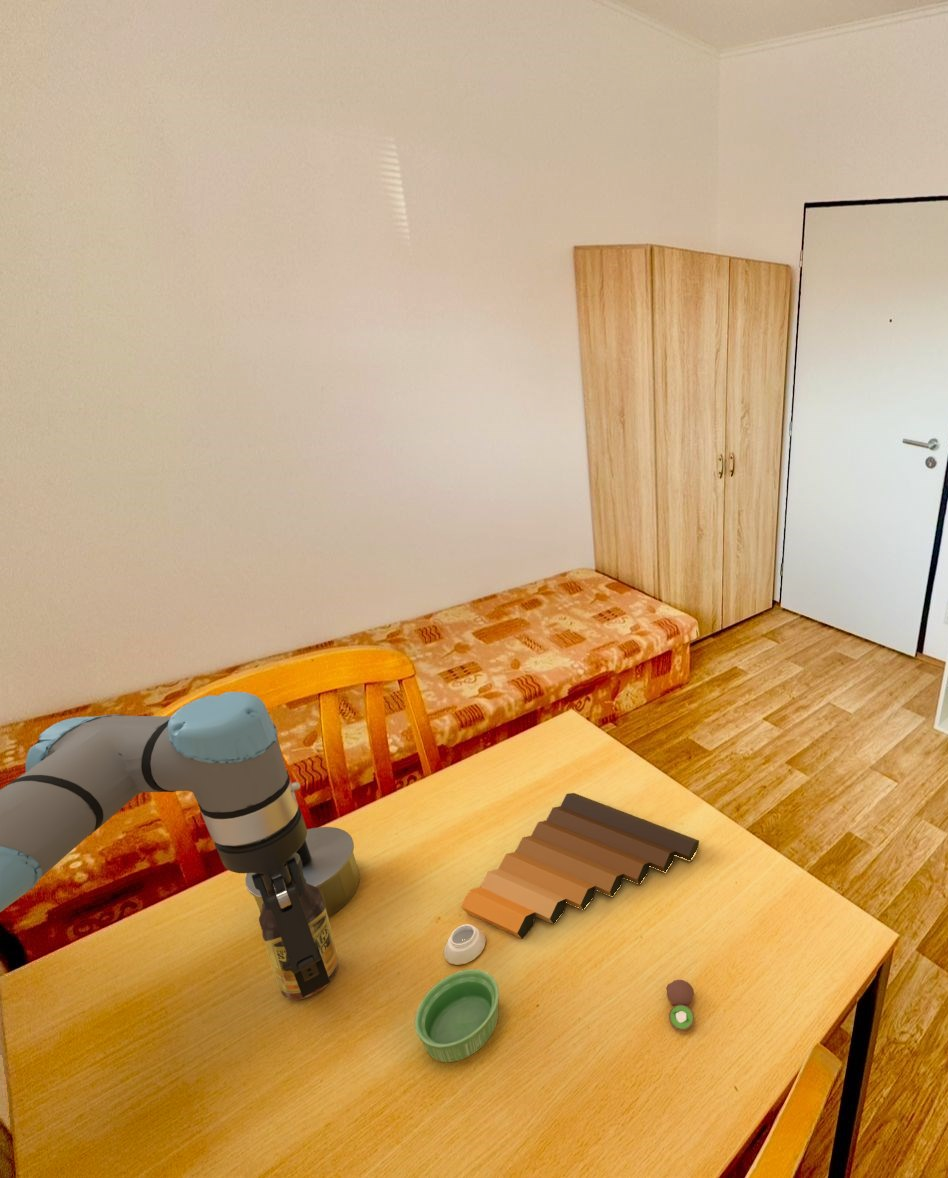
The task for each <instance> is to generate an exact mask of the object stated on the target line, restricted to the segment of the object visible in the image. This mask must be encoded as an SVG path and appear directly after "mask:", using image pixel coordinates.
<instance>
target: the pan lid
mask: <svg viewBox="0 0 948 1178" xmlns="http://www.w3.org/2000/svg"><path fill="white" fill-rule="evenodd" d="M354 850H355V843H354V839H353V837H352V836H351V835H350V833H349V832H347V831H346V830H344V829H342V828H339V827H334V826H319V827H311V828H307V836H306V839H305V841H304V843H303V845H302V846H301V847H300V848H299V849H298V851H297V852H296V853H298V854H299V855H300V858H301V861H302V872H303V876H304V878H305V880H306V883H307V884H310V885H313V886H315V887H317V888H319V887H320V886H322V885H324V884H325V883H327V882H328V881H330V880H331V879H333V878H334V877H335V876H336V875H337V874H338V873H339V872H341V871H342V870H343V868H344V867H345V866H346V865H347V863H348V862H349V860H350V859H351V857H352V854H353V853H354ZM245 874H246V875H245V878H244V879H245V880H244V882H245V887H246V889H247V892H248V893H249V894H250V895H252V896H253V897H254V896H255V897H257V898H259V899H262V896H261V893H260V891H259V890H258V889H256V888H255V885H254V882H253V879H252V876H251V875H254V874H256V873H245ZM255 897H254V898H255Z"/></svg>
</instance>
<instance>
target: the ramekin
mask: <svg viewBox="0 0 948 1178" xmlns="http://www.w3.org/2000/svg"><path fill="white" fill-rule="evenodd" d="M499 1001H500V989H499V984H498V983H497V981H496V979H495V978H494V976H493V975H491V973H490V972H487V971H485V970H482V969H477V968H475V969H474V968H472V969H471V968H470V969H463V970H459V971H456V972H453V973H451V974H449V975H447V976H445V977H444V978H443V979H440V980H439V981H438V982H437V983H436V984H435V985H433V986H432V988H430V989H429V990H428V992H427V993H425V995H424V997H423V998H422V999H421V1001H420V1003H419V1004H418V1007H417V1010H416V1013H415V1017H414V1029H415V1032H416V1035H417V1036H418V1039H419V1040H420V1041H421V1042H422V1043H423V1046H424V1048H425V1049H426V1052H427V1054H428V1055H429V1056H430V1057H432V1058H433V1059H434V1060H436V1061H437V1062H442V1063H453V1062H458V1061H461V1060H464V1059H467V1058H469V1057H471V1056H472V1055H474V1054H475V1053H476V1052H478V1051H479V1050H480V1049H481V1048H482V1047H483V1046H484V1045H485V1044H486V1043H487V1042H488V1041H489V1039H490V1038H491V1036H492V1035H493V1033H494V1031H495V1029H496V1027H497V1023H498V1019H499Z"/></svg>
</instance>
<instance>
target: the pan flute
mask: <svg viewBox="0 0 948 1178" xmlns="http://www.w3.org/2000/svg"><path fill="white" fill-rule="evenodd" d="M699 844H700V840H698V839H697V838H693V837H691V836H688V835H686V834H683V833H682V832H681V833H680V832H678V831H675V830H672V829H670V828H667V827H665V826H663V825H659V824H657V823H654V822H652V821H649V820H646V819H644V818H642V817H638V816H635V815H633V814H630V813H628V812H625V811H623V810H620V809H618V808H615V807H612V806H610V805H607V804H604V803H601V802H599V801H596V800H593V799H591V798H588V797H586V796H583V795H581V794H578V793H575V792H570V793H566V794H565V796H564V797H563V800H562V802H561V804H560V806H554V807H552V808H551V810H550V812H549V814H548V816H547V818H546V820H542V821H538V822H537V823H536V826H535V827H534V829H533V831H532V833H531V835H528V836H524V837H522V838H521V839H520V842H519V844H518V845H517V848H516V849H515V851H513V852H512V851H511V852H508V853H506V854H505V855H504V857H503V858H502V861H501V863H500V864H499V866H498V868H496V869H495V868H494V869H493V870H488V871H487V873H486V875H485V877H484V879H483V881H482V882H481V884H480V886H478V887H476V888H472V889H469V890H468V892H467V894H466V896H465V897H464V900H463V902H462V903H461V905H460V908H462V910H463V911H464V912H465V913H466V912H467V913H466V914H468V915H470V914H471V915H470V916H472V915H473V916H472V917H475V918H476V919H479V920H481V921H483V922H485V923H487V924H489V925H491V924H492V926H494V927H496V928H498V929H500V930H502V931H504V932H506V933H508V932H509V933H508V934H510V935H512V934H513V936H514V937H517V938H519V939H522V940H523V939H524V938H525V936H527V934H528V933H529V932H530V931H531V929H533V927H534V923H535V917H536V916H537V917H536V918H538V917H539V918H538V919H540V920H543V921H545V922H547V921H548V922H547V923H549V922H550V924H551V923H552V925H555V924H556V923H557V922H556V920H557V919H558V918H559V916H560V915H561V914H562V913H563V911H564V912H565V909H566V905H567V903H569V904H568V905H570V904H571V905H570V906H572V905H573V906H572V907H574V906H576V907H579V908H581V909H583V910H584V908H585V907H586V905H587V904H588V903H589V902H590V901H591V899H592V898H593V897H594V898H595V892H596V891H595V890H598V891H600V892H602V893H605V894H607V895H610V896H613V895H614V893H615V892H616V891H617V889H618V888H619V887H620V885H621V884H622V885H623V880H625V879H628V880H631V881H633V882H635V883H638V884H640V883H641V881H642V880H643V878H644V877H645V876H646V874H647V873H648V874H649V869H650V867H649V866H651V867H654V868H656V869H659V870H661V871H664V872H666V870H667V869H668V867H669V866H670V864H671V863H672V861H673V862H674V860H675V856H674V855H677V856H679V857H683V858H685V859H687V860H691V858H692V857H693V855H694V853H695V852H696V850H697V848H698V849H699ZM697 851H698V850H697ZM646 877H647V876H646ZM623 878H625V879H623ZM628 880H627V881H628ZM633 882H632V883H633ZM635 883H634V884H635ZM641 884H642V883H641ZM622 885H621V886H622ZM598 891H597V892H598ZM600 892H599V893H600ZM602 893H601V894H602ZM605 894H604V895H605ZM607 895H606V896H607ZM594 898H593V899H594ZM566 902H567V903H566ZM576 907H575V908H576ZM579 908H578V909H579ZM581 909H580V910H581ZM583 910H582V911H583ZM563 914H564V913H563ZM563 914H562V915H563ZM562 915H561V916H562ZM559 919H560V918H559ZM559 919H558V920H559ZM558 920H557V921H558ZM555 922H556V923H555ZM554 923H555V924H554ZM528 931H529V932H528Z"/></svg>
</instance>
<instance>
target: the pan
mask: <svg viewBox="0 0 948 1178" xmlns="http://www.w3.org/2000/svg"><path fill="white" fill-rule="evenodd" d="M360 877H361V875H360V871H359V868H358V864H357V860H356V857H355V854H354V852H353V854H352V857H351V859H350V860H349V862H348V863H347V865H346V866H345V867H344V868H343V870H342V871H341V872H339V873H338V874H337V875H336V876H335V877H334V878H333V879H331V880H330V881H328V882H327V883H325V884H324V885H322V886H320V887H319V888H318V889H319V890H320V893H321V896H322V899H323V902H324V905H325V908H326V912H327V915H328V919H329V918H331V917H332V916H334V915H336V914H337V913H338V912H339V911H341V910H342V909H343V908H345V906H346V905H347V904H348V903H349V902H350V901H351V900H352V899H353V897H354V896H355V894H356V892H357V891H358V888H359V887H360V886H359V885H360V880H361V878H360ZM253 897H254V900H255V902H256V905H257V907H258V910H259V913H260V914H261V910H262V905H263V903H264V902H263V899H259V898H257V897H255V896H253Z"/></svg>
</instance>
